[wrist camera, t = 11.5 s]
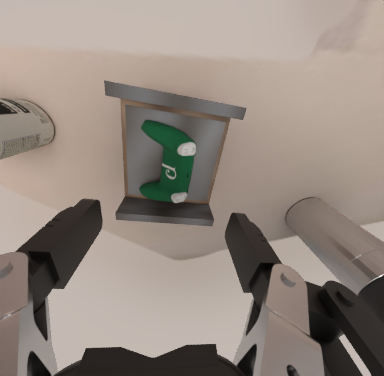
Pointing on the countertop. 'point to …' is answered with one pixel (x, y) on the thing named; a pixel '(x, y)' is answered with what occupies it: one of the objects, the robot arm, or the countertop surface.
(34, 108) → the spray can
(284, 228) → the countertop surface
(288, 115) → the countertop surface
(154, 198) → the gaming controller
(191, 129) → the charging cradle
